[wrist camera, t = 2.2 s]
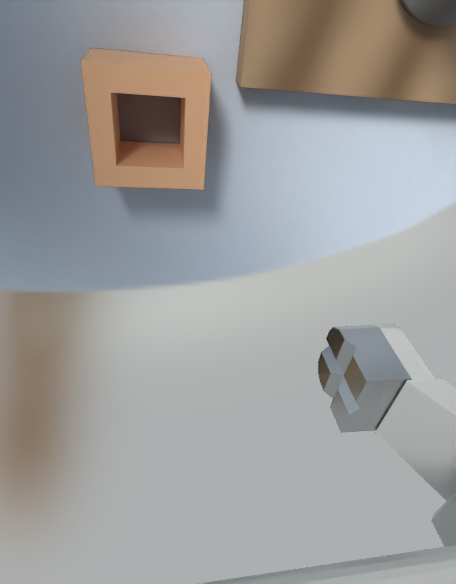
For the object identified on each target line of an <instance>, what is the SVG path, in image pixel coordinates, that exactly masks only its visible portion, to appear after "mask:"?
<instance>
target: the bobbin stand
mask: <svg viewBox="0 0 456 584" xmlns="http://www.w3.org/2000/svg"><path fill="white" fill-rule="evenodd" d="M236 82H237V83H238V84H239V86H240V87H247V88H260V89H272V90H285V91H297V92H310V93H322V94H335V95H348V96H360V97H373V98H385V99H398V100H410V101H423V102H435V103H448V104H456V0H244V6H243V16H242V26H241V36H240V46H239V55H238V65H237V75H236Z"/></svg>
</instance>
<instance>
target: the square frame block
mask: <svg viewBox="0 0 456 584" xmlns="http://www.w3.org/2000/svg"><path fill="white" fill-rule="evenodd" d="M81 68H82V76H83V85H84V93H85V102H86V110H87V119H88V127H89V136H90V144H91V152H92V161H93V169H94V178H95V186H105V187H138V188H171V189H204V178H205V163H206V148H207V132H208V117H209V102H210V87H211V71H210V69H209V68H208V66H207V64H206V63H205V61H204V59H203V58H194V57H183V56H172V55H161V54H151V53H140V52H129V51H118V50H107V49H96V48H91V49H90V50H89V51H88V53H87V54H86V55H85V57H84V58H83V59H82V61H81ZM117 93H125V94H138V95H152V96H166V97H180V98H181V100H180V144H173V143H153V142H134V141H121V138H120V124H119V109H118V95H117Z"/></svg>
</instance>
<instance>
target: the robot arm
mask: <svg viewBox="0 0 456 584" xmlns="http://www.w3.org/2000/svg"><path fill="white" fill-rule="evenodd" d="M326 339H327V341H328V344H329V346H328V347H327V348H326V349H325V350H324V351H322V352H321V355H320V358H319V362H318V374H319V378H320V382H321V385H322V388H323V390H324V391H325V392H326V393H327V394H328V395H330V396H331V397H332V398H333V401H332V403H331V410H332V412H333V415H334V417H335V419H336V422H337V424H338V427H339V429H340V431H341V432H355V431H356V432H357V431H374V430H376V433H377V434H378V435H379V436H380V437H381V438H382V439H383V440H384V441H385V442H386V443H387V444H388V445H389V446H390V447H391V448H392V449H393V450H394V451H395V452H397V454H398V455H399V456H400V457H402V458H403V459H404V460H405V461H406V462H407V463H408V464H409V465H410V466H411V467H412V468H413V469H414V470H415V471H416V472H417V473H418V474H419V475H420V476H422V477H423V478H424V480H425V481H427V483H428V484H430V485H431V486H432V487H433V488H434V489H435V490H436V491H437V492H438V493H439V494H440V495H441V496H442V497H443V498H444V499H445V500H446V501H447V502H446V503H445V504H444V505H442V506H441V508H439V510H437V512H435V513H434V515H433V518H432V522H433V525H434V527H435V529H436V531H437V533H438V535H439V537H440V539H441V541H442V543H443V544H444V547H440V548H433V549H426V550H420V551H414V552H407V553H400V554H393V555H386V556H380V557H374V558H366V559H360V560H354V561H346V562H340V563H333V564H326V565H320V566H313V567H306V568H300V569H293V570H287V571H279V572H273V573H267V574H260V575H253V576H247V577H239V578H233V579H226V580H220V581H213V582H206V583H199V584H456V387H454V386H453V385H451V384H450V383H448V382H446V381H445V380H443V379H442V378H434V376H433V375H432V374H431V372H430V371H429V369H428V368H427V366H426V365H425V364H424V362H423V361H422V359H421V358H420V356H419V355H418V353H417V352H416V351H415V349H414V348H413V346H412V345H411V343H410V342H409V341H408V339H407V338H406V336H405V335H404V333H403V332H402V331H401V329H400V328H399V327H398V326H396V325H395V324H390V325H373V326H371V325H368V326H345V327H333V328H332V329H331V330H330V331H329V333H328V336H327V338H326Z"/></svg>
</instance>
